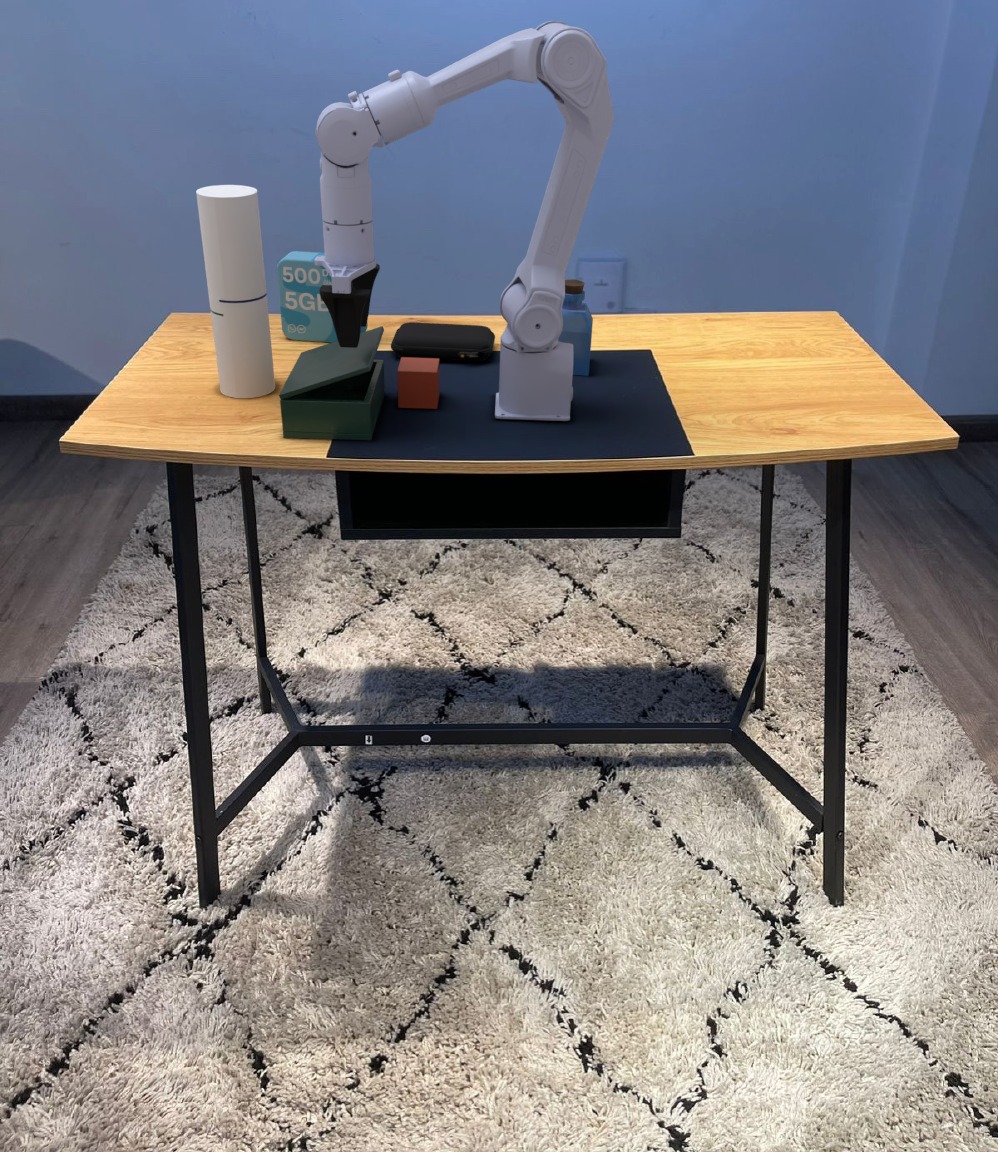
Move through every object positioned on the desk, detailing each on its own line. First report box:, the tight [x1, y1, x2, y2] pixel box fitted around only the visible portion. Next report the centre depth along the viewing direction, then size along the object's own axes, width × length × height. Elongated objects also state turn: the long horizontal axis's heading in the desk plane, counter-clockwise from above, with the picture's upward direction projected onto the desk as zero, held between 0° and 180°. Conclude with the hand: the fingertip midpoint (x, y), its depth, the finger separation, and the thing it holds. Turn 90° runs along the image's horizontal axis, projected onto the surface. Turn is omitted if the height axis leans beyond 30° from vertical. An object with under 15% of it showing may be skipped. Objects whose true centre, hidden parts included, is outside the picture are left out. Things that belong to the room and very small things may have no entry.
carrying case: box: [390, 322, 496, 362], centre depth 148 cm, size 11×3×15 cm
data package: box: [276, 250, 368, 343], centre depth 150 cm, size 12×4×12 cm, turn 82°
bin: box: [279, 359, 386, 441], centre depth 127 cm, size 11×15×5 cm
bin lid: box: [278, 326, 385, 400], centre depth 125 cm, size 11×15×1 cm
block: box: [396, 357, 441, 410], centre depth 132 cm, size 5×5×5 cm
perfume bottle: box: [558, 278, 594, 377], centre depth 143 cm, size 6×6×12 cm
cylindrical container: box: [195, 184, 276, 399], centre depth 129 cm, size 7×7×25 cm
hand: (353, 335), depth 123 cm, fingers open, 7 cm apart
